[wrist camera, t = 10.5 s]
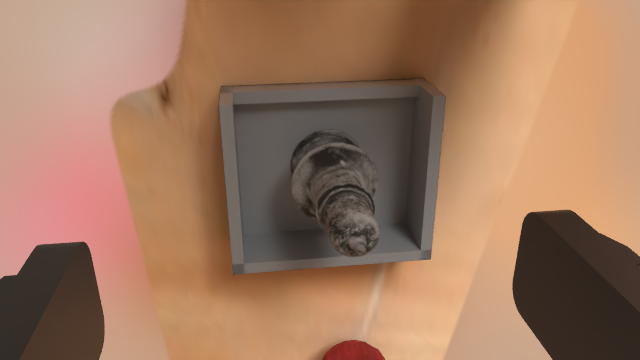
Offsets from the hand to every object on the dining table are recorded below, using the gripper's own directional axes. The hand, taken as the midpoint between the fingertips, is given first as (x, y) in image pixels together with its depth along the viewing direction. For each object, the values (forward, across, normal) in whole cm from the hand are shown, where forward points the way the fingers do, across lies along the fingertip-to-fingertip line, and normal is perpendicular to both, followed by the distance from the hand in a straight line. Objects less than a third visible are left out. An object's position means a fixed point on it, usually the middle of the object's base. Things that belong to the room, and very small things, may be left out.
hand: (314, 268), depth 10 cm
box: (+28, -4, +10) cm, 30 cm away
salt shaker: (+28, -4, +10) cm, 30 cm away
